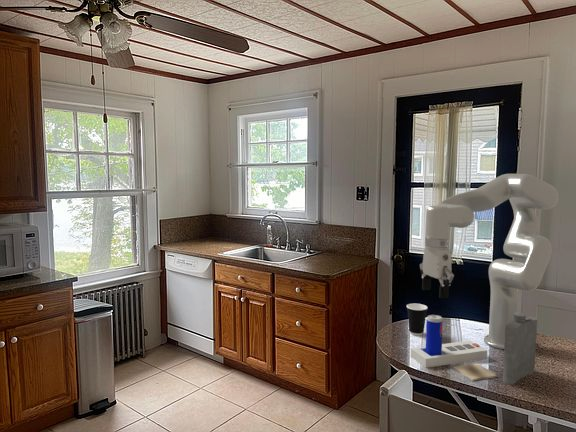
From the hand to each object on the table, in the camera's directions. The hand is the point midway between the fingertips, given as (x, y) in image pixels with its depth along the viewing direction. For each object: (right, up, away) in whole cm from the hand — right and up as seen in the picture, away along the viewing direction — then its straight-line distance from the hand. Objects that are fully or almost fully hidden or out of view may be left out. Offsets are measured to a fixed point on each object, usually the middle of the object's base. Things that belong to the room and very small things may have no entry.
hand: (434, 293), depth 148 cm
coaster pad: (+10, -24, -7) cm, 27 cm away
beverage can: (0, -23, +3) cm, 23 cm away
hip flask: (+23, -24, -9) cm, 35 cm away
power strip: (+6, -23, +4) cm, 24 cm away
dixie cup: (+2, -21, +27) cm, 34 cm away
